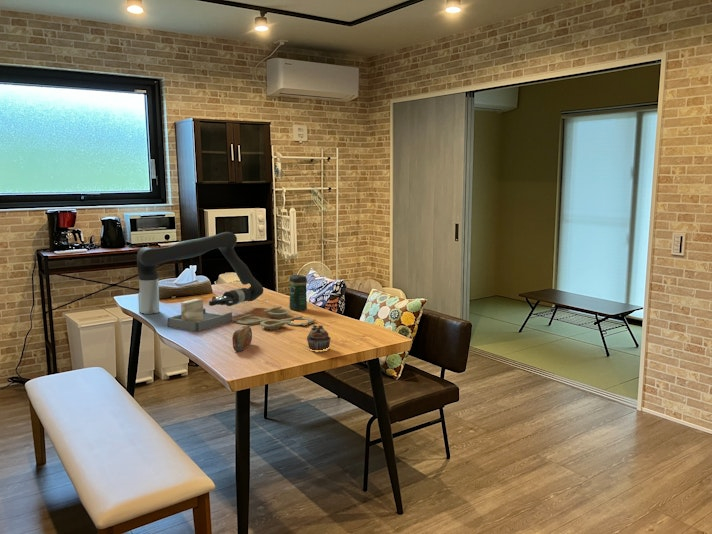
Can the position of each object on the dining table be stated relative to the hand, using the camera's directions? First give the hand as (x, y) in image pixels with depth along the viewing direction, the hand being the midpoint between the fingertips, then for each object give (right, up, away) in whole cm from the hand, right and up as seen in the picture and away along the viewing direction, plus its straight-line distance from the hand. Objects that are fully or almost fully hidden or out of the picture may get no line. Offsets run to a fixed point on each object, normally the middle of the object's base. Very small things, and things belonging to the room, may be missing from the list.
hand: (210, 303), depth 277 cm
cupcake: (+55, -16, -43) cm, 72 cm away
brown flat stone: (+24, -16, -42) cm, 51 cm away
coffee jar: (+40, -5, +29) cm, 49 cm away
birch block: (-6, -8, -10) cm, 14 cm away
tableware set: (+31, -10, +1) cm, 33 cm away
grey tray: (-3, -9, -4) cm, 11 cm away
